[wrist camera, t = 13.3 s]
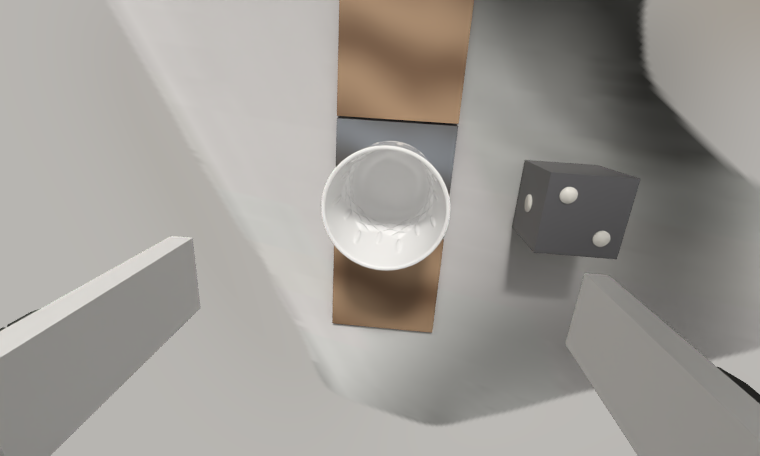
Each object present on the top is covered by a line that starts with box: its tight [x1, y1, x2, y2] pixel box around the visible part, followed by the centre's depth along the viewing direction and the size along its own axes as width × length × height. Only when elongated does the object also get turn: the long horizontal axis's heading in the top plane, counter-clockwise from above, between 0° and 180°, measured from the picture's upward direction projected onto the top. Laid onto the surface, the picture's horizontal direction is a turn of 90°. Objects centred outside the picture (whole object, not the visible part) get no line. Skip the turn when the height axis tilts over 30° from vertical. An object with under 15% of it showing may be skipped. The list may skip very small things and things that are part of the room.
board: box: [332, 0, 474, 332], centre depth 32 cm, size 30×10×1 cm, turn 177°
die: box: [512, 160, 640, 259], centre depth 29 cm, size 6×6×6 cm
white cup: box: [321, 140, 450, 271], centre depth 27 cm, size 8×8×10 cm
